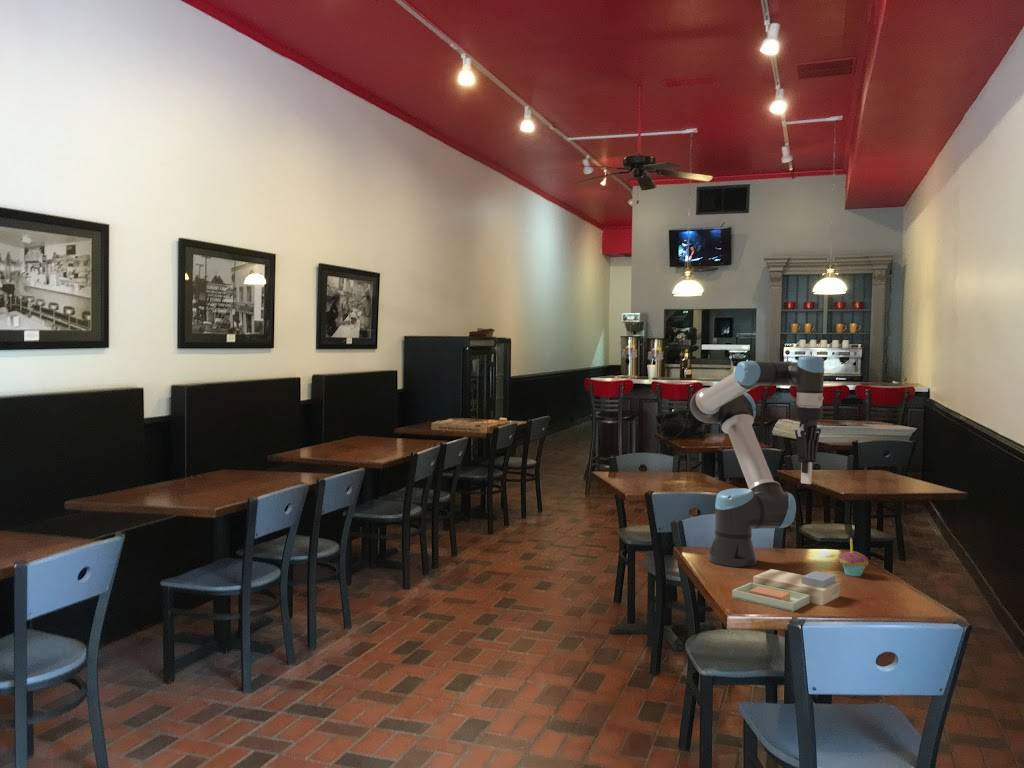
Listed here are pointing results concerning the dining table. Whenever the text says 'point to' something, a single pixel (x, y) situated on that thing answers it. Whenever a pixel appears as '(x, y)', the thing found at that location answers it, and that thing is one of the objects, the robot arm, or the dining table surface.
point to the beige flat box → (797, 585)
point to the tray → (795, 598)
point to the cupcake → (853, 562)
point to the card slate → (818, 579)
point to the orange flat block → (771, 593)
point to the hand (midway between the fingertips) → (806, 483)
